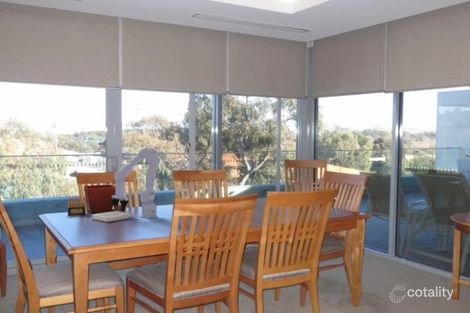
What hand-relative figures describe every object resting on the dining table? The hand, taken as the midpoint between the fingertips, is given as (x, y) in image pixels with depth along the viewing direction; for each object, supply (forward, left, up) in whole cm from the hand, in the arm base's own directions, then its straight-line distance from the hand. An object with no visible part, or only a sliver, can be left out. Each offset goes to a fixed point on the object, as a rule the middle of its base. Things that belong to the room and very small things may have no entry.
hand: (119, 210), depth 296 cm
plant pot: (+22, 0, -3) cm, 22 cm away
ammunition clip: (+20, +19, -3) cm, 28 cm away
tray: (-8, +12, -3) cm, 15 cm away
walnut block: (0, 0, -3) cm, 3 cm away
